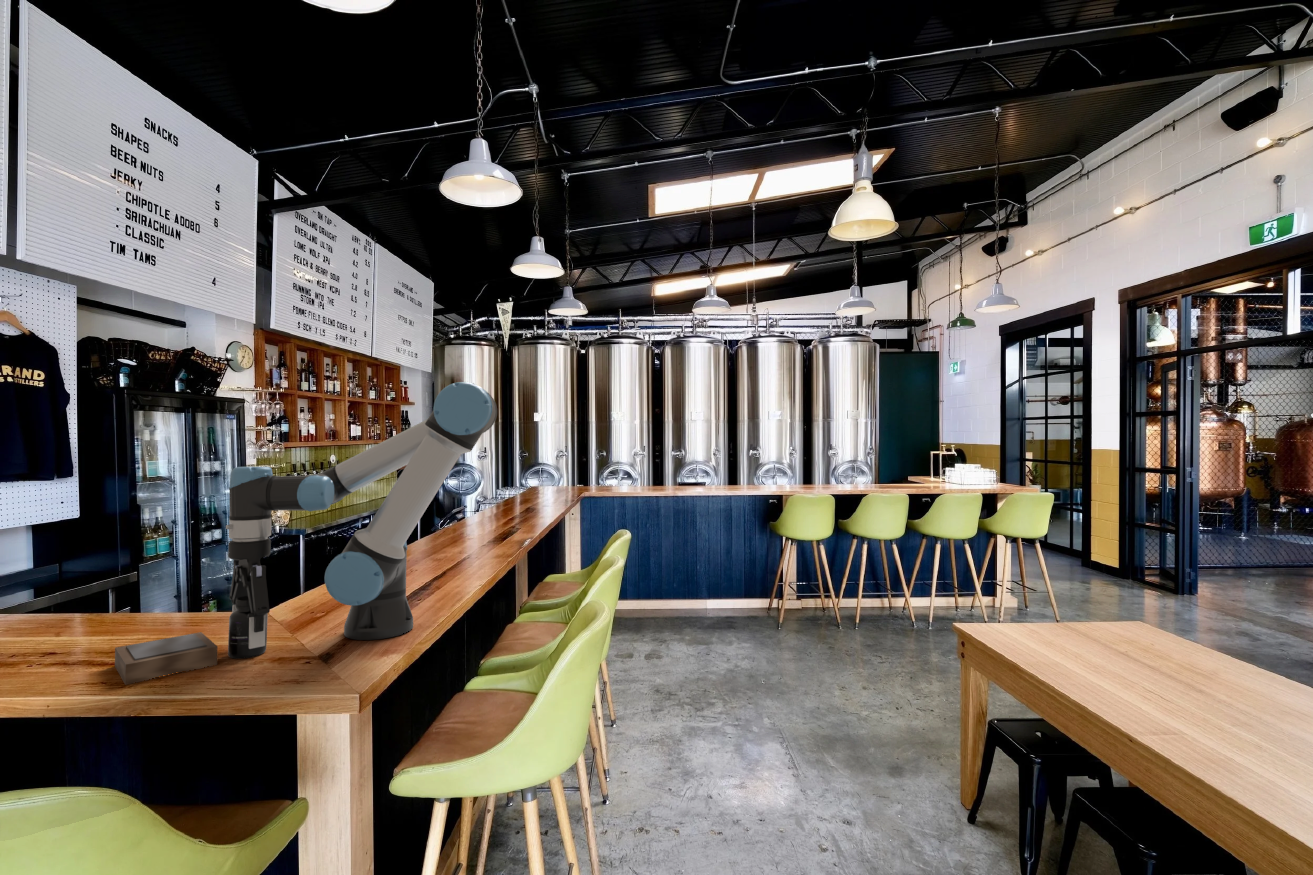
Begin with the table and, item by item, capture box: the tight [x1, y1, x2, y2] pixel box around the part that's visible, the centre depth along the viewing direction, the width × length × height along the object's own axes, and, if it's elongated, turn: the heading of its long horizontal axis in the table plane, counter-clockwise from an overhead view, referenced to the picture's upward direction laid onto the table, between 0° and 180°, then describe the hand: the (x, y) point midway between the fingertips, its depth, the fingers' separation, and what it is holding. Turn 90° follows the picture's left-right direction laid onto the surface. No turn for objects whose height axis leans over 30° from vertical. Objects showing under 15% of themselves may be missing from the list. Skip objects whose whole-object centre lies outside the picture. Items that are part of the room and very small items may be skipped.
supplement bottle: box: [227, 596, 269, 660], centre depth 128 cm, size 7×7×12 cm
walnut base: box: [114, 631, 218, 686], centre depth 121 cm, size 14×14×4 cm
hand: (248, 640), depth 128 cm, fingers open, 12 cm apart
